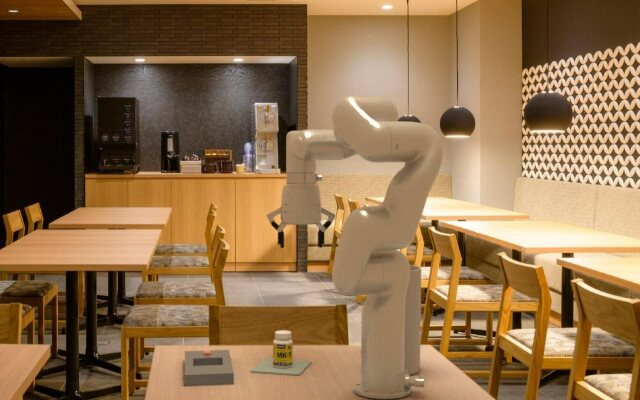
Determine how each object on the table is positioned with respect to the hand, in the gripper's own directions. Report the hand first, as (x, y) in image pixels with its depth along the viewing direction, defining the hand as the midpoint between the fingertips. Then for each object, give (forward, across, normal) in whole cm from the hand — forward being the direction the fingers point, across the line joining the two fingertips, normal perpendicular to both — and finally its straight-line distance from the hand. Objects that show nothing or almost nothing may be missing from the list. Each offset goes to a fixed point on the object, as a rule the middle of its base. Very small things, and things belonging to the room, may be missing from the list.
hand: (301, 247), depth 215 cm
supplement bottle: (+28, +5, +10) cm, 30 cm away
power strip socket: (+28, +23, +12) cm, 39 cm away
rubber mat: (+28, +6, +10) cm, 30 cm away
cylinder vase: (+28, -21, +15) cm, 39 cm away
